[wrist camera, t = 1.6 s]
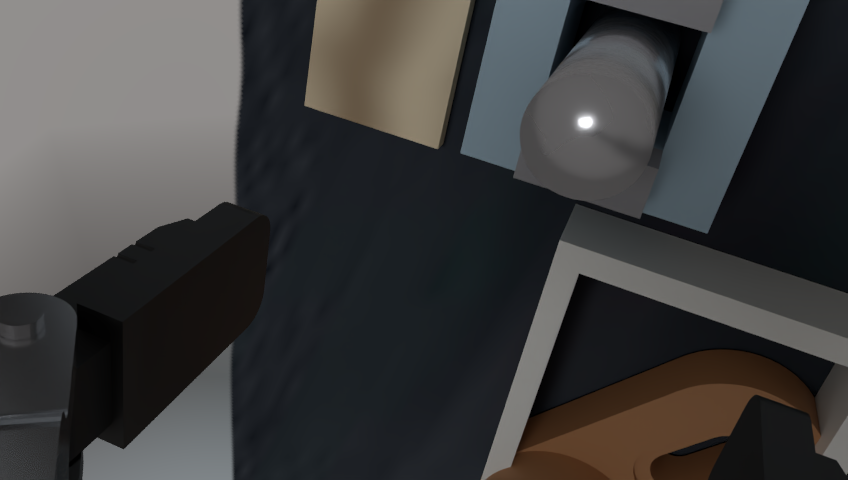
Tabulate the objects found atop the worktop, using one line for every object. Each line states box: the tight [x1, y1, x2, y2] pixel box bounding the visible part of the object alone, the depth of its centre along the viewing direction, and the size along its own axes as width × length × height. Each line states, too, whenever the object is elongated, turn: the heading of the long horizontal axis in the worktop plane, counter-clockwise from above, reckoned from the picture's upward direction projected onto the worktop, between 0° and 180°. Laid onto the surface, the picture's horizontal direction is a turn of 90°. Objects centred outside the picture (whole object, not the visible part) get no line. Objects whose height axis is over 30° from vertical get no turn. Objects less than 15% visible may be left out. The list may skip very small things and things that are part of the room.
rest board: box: [304, 0, 475, 149], centre depth 35 cm, size 7×9×1 cm
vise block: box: [460, 0, 810, 233], centre depth 29 cm, size 10×10×7 cm
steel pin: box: [520, 6, 681, 201], centre depth 26 cm, size 4×4×13 cm
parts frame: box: [481, 204, 848, 480], centre depth 39 cm, size 14×24×4 cm, turn 169°
